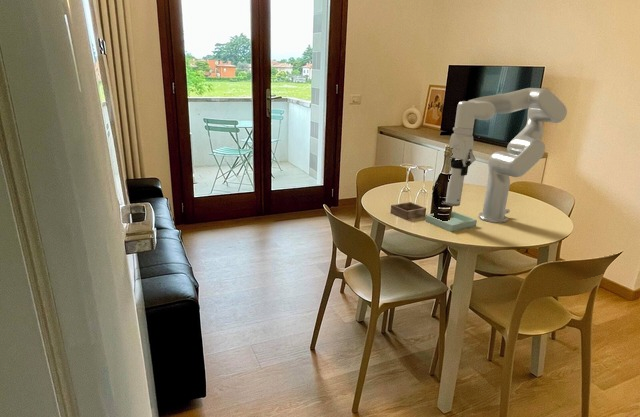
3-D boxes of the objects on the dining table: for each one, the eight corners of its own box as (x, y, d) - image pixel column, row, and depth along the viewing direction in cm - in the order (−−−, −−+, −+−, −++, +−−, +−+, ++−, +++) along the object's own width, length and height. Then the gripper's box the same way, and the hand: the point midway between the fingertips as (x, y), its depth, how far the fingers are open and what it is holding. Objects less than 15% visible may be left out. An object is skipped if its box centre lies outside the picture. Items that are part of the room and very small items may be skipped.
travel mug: (461, 207, 183) (468, 161, 176) (445, 205, 184) (452, 160, 178) (459, 202, 189) (466, 158, 182) (444, 201, 190) (450, 157, 183)
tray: (449, 216, 199) (450, 210, 198) (475, 226, 187) (476, 219, 186) (425, 221, 191) (426, 215, 190) (450, 232, 179) (451, 225, 178)
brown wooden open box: (409, 209, 207) (410, 201, 205) (425, 216, 198) (426, 208, 196) (390, 213, 200) (391, 205, 199) (406, 220, 192) (407, 211, 190)
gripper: (441, 129, 181) (436, 170, 187) (474, 135, 168) (467, 178, 173) (453, 128, 185) (448, 168, 191) (486, 134, 171) (479, 177, 177)
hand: (457, 173), depth 182 cm, fingers closed on travel mug, 6 cm apart
